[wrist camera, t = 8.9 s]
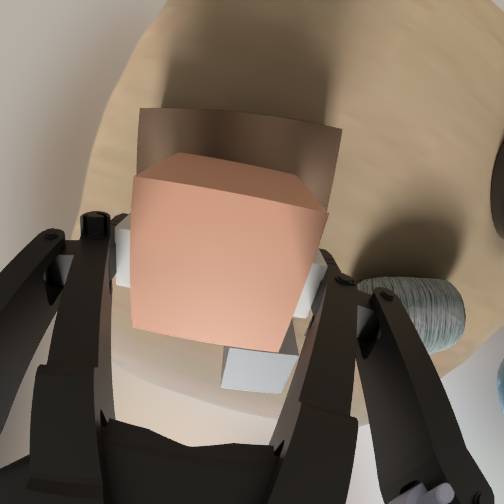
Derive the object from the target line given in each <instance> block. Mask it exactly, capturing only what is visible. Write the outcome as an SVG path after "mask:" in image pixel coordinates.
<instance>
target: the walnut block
mask: <svg viewBox="0 0 504 504" xmlns="http://www.w3.org/2000/svg"><path fill="white" fill-rule="evenodd" d="M341 134H342V129H340V128H335V127H331V126H326V125H321V124H316V123H311V122H306V121H300V120H295V119H289V118H282V117H276V116H269V115H261V114H253V113H244V112H234V111H222V110H208V109H187V108H140V114H139V127H138V144H137V174H139V173H141V172H142V171H144V170H146V169H148V168H150V167H151V166H153V165H155V164H157V163H159V162H161V161H163V160H165V159H166V158H168V157H170V156H172V155H174V154H176V153H178V152H180V153H187V154H193V155H199V156H205V157H211V158H217V159H223V160H228V161H233V162H239V163H244V164H249V165H253V166H258V167H263V168H267V169H272V170H276V171H281V172H285V173H289V174H293V175H297V177H298V178H299V179H300V180H301V181H302V182H303V183H304V185H305V186H306V187H307V188H308V189H309V190H310V192H311V193H312V194H313V195H314V196H315V198H316V199H317V200H318V201H319V202H320V204H321V205H322V206H323V207H324V208H325V210H326V211H327V207H328V202H329V198H330V193H331V188H332V183H333V178H334V173H335V168H336V162H337V157H338V151H339V146H340V140H341ZM318 246H319V245H318Z"/></svg>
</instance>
